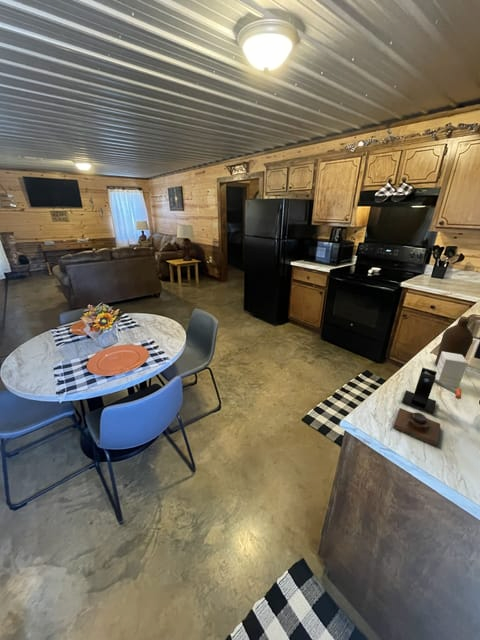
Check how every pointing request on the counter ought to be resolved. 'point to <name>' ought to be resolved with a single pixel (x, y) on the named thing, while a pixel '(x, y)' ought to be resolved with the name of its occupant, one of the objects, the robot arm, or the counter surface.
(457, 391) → the switch
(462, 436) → the counter surface
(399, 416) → the button block
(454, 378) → the white packaging box
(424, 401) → the switch bracket
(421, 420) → the button
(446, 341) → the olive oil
